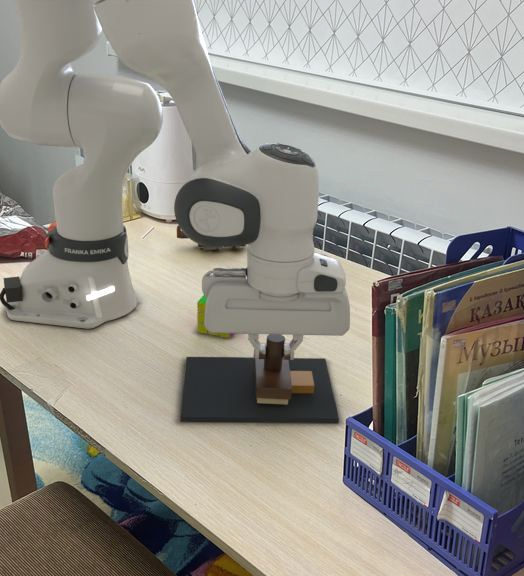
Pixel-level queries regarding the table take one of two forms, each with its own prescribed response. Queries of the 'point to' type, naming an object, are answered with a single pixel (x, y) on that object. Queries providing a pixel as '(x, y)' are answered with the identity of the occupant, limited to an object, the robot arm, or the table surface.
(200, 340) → the table surface
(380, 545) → the table surface
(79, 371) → the table surface
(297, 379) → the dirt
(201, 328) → the puzzle toy
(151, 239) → the table surface
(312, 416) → the mat
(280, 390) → the brush
